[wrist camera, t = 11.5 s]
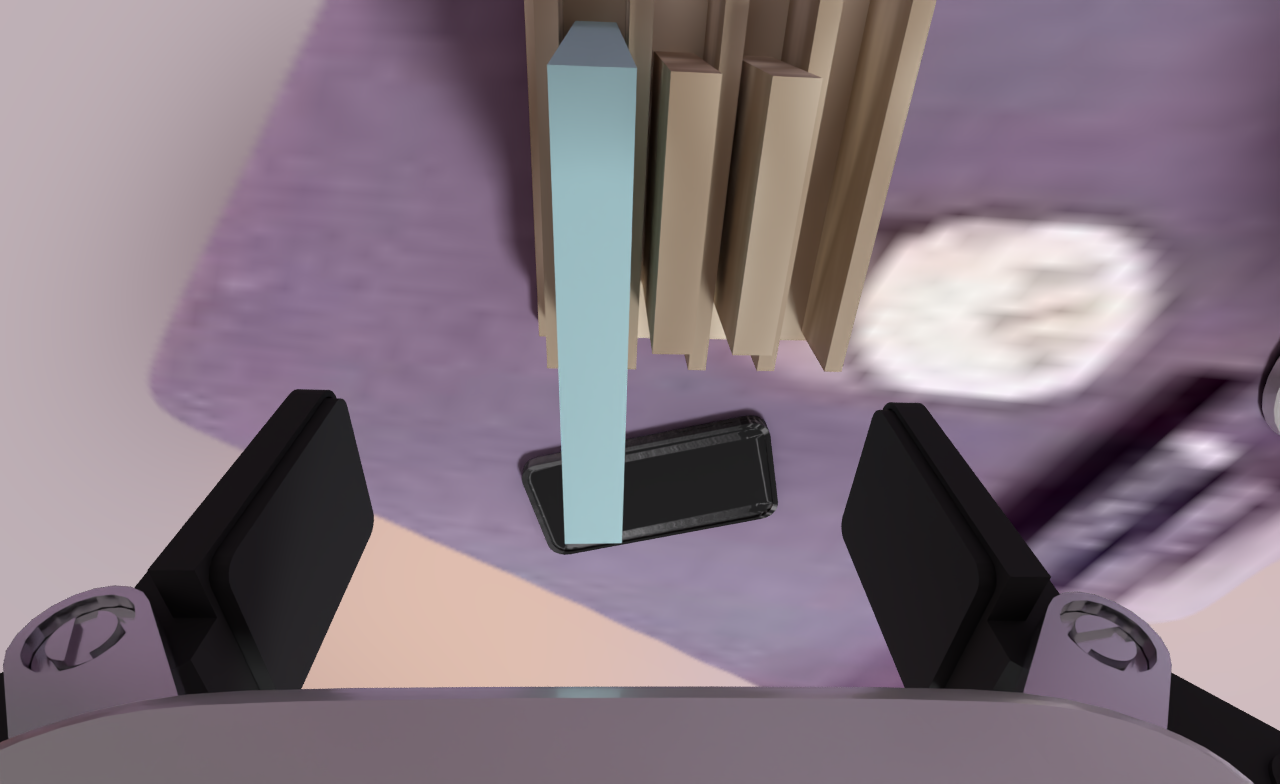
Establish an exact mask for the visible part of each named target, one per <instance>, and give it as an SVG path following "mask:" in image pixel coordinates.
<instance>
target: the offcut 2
mask: <svg viewBox="0 0 1280 784" xmlns="http://www.w3.org/2000/svg"><path fill="white" fill-rule="evenodd" d="M822 80H823V78H821V77H818V76H816V75H814V74H811V73H809V72H807V71H804V70H802V69H800V68H797V67H795V66H792V65H790V64H788V63H785V62H783V61H781V60H778V59H776V58H773V57H766V56H745V55H743V61H742V69H741V77H740V86H739V94H738V102H737V111H736V119H735V127H734V136H733V144H732V152H731V161H730V169H729V177H728V186H727V194H726V202H725V211H724V219H723V227H722V236H721V244H720V253H719V261H718V269H717V278H716V286H715V294H714V305H715V308H716V311H717V313H718V316H719V319H720V322H721V325H722V327H723V330H724V333H725V336H726V338H727V341H728V344H729V347H730V350H731V352H732V355H765V356H772V353H773V347H774V342H775V336H776V331H777V325H778V320H779V315H780V309H781V304H782V298H783V293H784V287H785V282H786V276H787V271H788V266H789V260H790V255H791V249H792V244H793V238H794V233H795V227H796V222H797V217H798V211H799V206H800V200H801V195H802V189H803V184H804V178H805V173H806V168H807V162H808V157H809V151H810V146H811V140H812V135H813V129H814V124H815V119H816V113H817V108H818V102H819V97H820V91H821V86H822Z"/></svg>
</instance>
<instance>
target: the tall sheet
mask: <svg viewBox="0 0 1280 784" xmlns="http://www.w3.org/2000/svg"><path fill="white" fill-rule="evenodd" d="M547 75H548V102H549V129H550V156H551V182H552V209H553V236H554V263H555V290H556V317H557V344H558V371H559V398H560V425H561V452H562V478H563V505H564V532H565V544H598V543H622V524H623V493H624V462H625V430H626V399H627V368H628V336H629V305H630V273H631V242H632V211H633V179H634V148H635V117H636V85H637V67H636V65H635V62H634V60H633V58H632V56H631V54H630V51H629V49H628V47H627V45H626V43H625V40H624V38H623V36H622V34H621V32H620V29H619V27H618V25H617V23H616V22H594V21H575V22H574V24H573V25H572V27H571V28H570V30H569V31H568V33H567V35H566V36H565V38H564V39H563V41H562V42H561V44H560V45H559V47H558V49H557V50H556V52H555V53H554V55H553V56H552V58H551V60H550V61H549V63H548V64H547Z"/></svg>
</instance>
